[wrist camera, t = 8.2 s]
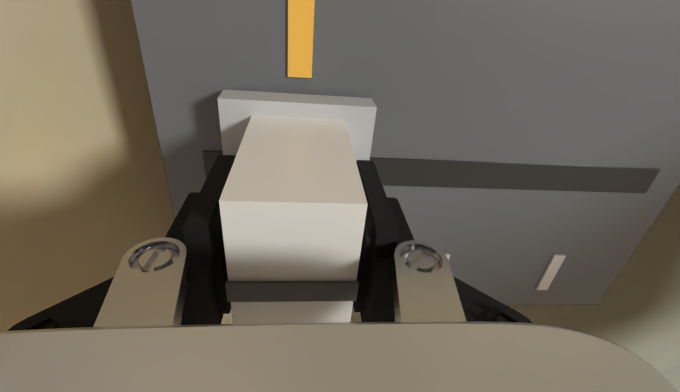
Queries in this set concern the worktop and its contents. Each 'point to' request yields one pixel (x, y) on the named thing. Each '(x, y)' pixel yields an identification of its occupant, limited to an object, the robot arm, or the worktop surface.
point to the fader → (293, 204)
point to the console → (456, 118)
